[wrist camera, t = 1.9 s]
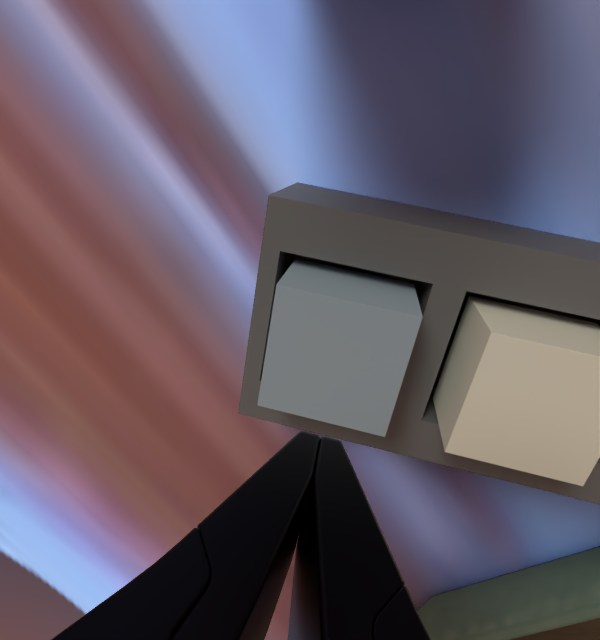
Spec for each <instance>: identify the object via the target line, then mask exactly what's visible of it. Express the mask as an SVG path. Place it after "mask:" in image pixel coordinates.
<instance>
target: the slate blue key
mask: <svg viewBox="0 0 600 640" xmlns="http://www.w3.org/2000/svg"><path fill="white" fill-rule="evenodd" d="M422 318H423V316H422V312H421V309H420V305H419V301H418V297H417V294H416V290H415V286H414V284H412V283H408V282H403V281H398V280H394V279H389V278H384V277H380V276H375V275H371V274H366V273H361V272H357V271H352V270H347V269H343V268H338V267H333V266H329V265H324V264H320V263H315V262H310V261H306V260H301V259H295V260H294V262H293V263H292V264H291V266H290V267H289V268H288V270H287V271H286V272H285V274H284V275H283V276H282V278H281V279H280V280H279V282H278V283H277V285H276V291H275V297H274V303H273V310H272V316H271V322H270V329H269V335H268V341H267V347H266V354H265V360H264V366H263V373H262V379H261V385H260V391H259V398H258V404H257V405H258V406H262V407H266V408H270V409H274V410H278V411H282V412H286V413H290V414H294V415H298V416H302V417H306V418H310V419H314V420H318V421H322V422H326V423H330V424H334V425H338V426H342V427H346V428H350V429H354V430H359V431H363V432H367V433H371V434H375V435H379V436H383V437H385V435H386V432H387V429H388V426H389V423H390V419H391V416H392V413H393V410H394V407H395V404H396V400H397V397H398V394H399V391H400V388H401V384H402V381H403V378H404V375H405V372H406V369H407V365H408V362H409V359H410V356H411V353H412V349H413V346H414V343H415V340H416V337H417V334H418V330H419V327H420V324H421V321H422Z"/></svg>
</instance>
